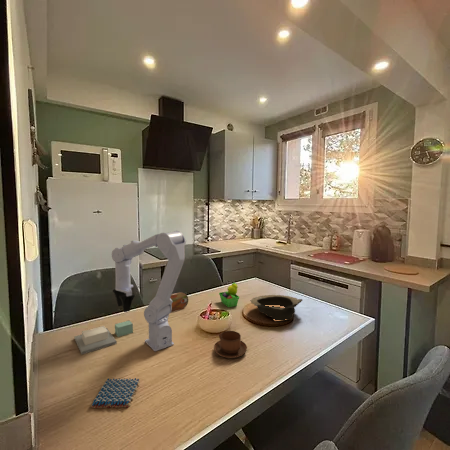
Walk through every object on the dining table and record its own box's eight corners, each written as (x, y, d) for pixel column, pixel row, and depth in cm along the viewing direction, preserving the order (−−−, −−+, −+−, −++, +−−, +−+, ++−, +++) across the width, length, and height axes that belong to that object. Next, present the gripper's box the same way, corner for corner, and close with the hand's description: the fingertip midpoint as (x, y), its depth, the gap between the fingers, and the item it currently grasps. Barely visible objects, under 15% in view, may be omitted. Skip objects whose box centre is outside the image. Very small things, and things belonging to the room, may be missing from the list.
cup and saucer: (207, 355, 93) (208, 338, 92) (223, 340, 103) (223, 325, 103) (238, 365, 87) (238, 347, 87) (251, 348, 98) (252, 332, 97)
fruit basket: (218, 301, 145) (218, 281, 144) (232, 299, 149) (232, 279, 148) (227, 308, 135) (227, 287, 134) (241, 306, 139) (242, 285, 138)
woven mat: (141, 382, 78) (141, 376, 78) (130, 410, 68) (129, 402, 68) (106, 383, 78) (106, 376, 78) (89, 411, 68) (89, 403, 67)
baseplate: (116, 343, 100) (116, 333, 99) (81, 354, 92) (81, 343, 92) (106, 330, 111) (106, 320, 110) (74, 338, 103) (74, 329, 103)
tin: (161, 314, 127) (161, 297, 127) (158, 312, 130) (158, 295, 129) (188, 307, 136) (188, 292, 135) (186, 305, 138) (185, 290, 138)
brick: (132, 333, 109) (132, 323, 108) (118, 337, 105) (117, 327, 105) (129, 329, 112) (129, 320, 111) (115, 333, 108) (114, 324, 108)
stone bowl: (293, 330, 112) (292, 308, 111) (242, 320, 125) (240, 301, 124) (307, 310, 133) (306, 292, 132) (262, 303, 146) (261, 287, 145)
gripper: (139, 278, 104) (139, 311, 105) (127, 271, 115) (127, 301, 116) (121, 281, 99) (121, 316, 100) (110, 273, 110) (110, 304, 111)
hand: (123, 308), depth 108 cm, fingers open, 7 cm apart
